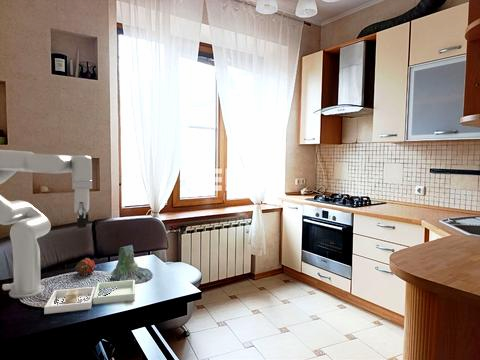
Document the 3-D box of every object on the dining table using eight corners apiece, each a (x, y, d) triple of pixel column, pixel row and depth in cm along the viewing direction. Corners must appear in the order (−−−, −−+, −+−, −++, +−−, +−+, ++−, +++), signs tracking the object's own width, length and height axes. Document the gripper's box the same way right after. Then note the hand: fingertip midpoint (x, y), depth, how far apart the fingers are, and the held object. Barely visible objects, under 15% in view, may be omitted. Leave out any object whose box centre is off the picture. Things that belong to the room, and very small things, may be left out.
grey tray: (44, 315, 117) (44, 307, 117) (54, 297, 132) (54, 290, 132) (90, 309, 122) (90, 302, 122) (95, 293, 137) (95, 286, 136)
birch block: (65, 305, 124) (65, 295, 124) (67, 300, 128) (67, 291, 128) (76, 303, 125) (76, 294, 125) (78, 299, 129) (78, 290, 129)
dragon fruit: (85, 281, 153) (83, 277, 163) (100, 268, 157) (97, 265, 167) (73, 268, 151) (71, 264, 161) (88, 256, 155) (86, 253, 165)
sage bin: (93, 305, 126) (93, 297, 125) (97, 289, 141) (97, 282, 140) (134, 300, 130) (134, 293, 130) (134, 286, 145) (134, 279, 145)
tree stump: (131, 289, 143) (123, 250, 143) (104, 289, 154) (97, 253, 154) (160, 275, 159) (153, 239, 159) (134, 276, 169) (128, 243, 170)
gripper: (75, 183, 140) (76, 221, 141) (69, 187, 124) (70, 230, 125) (93, 183, 143) (94, 220, 144) (90, 186, 127) (91, 228, 128)
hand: (83, 225), depth 134 cm, fingers open, 9 cm apart
